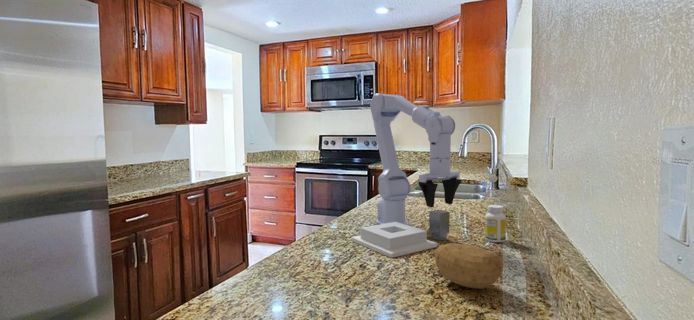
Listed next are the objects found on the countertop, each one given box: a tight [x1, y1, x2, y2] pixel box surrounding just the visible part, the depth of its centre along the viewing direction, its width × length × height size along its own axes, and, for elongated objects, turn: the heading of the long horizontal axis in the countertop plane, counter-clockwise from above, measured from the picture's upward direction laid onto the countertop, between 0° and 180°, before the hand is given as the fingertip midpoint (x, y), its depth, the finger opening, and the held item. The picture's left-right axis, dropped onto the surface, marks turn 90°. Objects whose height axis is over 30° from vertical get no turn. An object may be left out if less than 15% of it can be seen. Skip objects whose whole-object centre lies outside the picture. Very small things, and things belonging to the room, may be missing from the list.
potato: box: [433, 242, 504, 290], centre depth 74 cm, size 10×14×8 cm
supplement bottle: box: [484, 204, 507, 243], centre depth 104 cm, size 5×5×10 cm
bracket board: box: [350, 222, 438, 259], centre depth 102 cm, size 18×16×4 cm
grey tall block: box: [428, 209, 451, 242], centre depth 106 cm, size 4×4×8 cm
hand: (439, 205), depth 106 cm, fingers open, 7 cm apart
